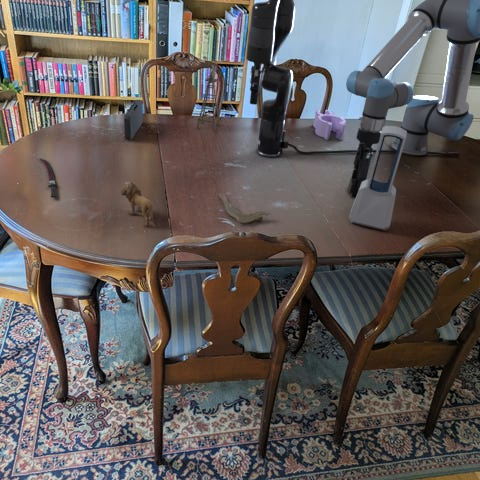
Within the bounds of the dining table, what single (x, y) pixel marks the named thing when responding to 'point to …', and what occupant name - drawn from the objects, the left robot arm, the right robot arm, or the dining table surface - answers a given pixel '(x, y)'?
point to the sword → (52, 181)
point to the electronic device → (378, 189)
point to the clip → (329, 124)
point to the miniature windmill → (210, 80)
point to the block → (351, 186)
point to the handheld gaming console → (133, 119)
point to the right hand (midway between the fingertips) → (354, 191)
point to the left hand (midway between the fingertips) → (254, 100)
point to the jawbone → (239, 215)
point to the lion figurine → (137, 201)
